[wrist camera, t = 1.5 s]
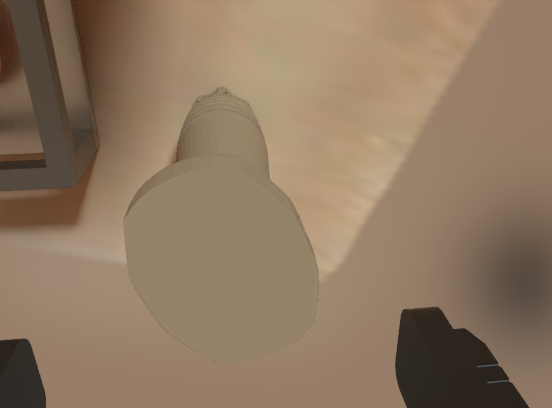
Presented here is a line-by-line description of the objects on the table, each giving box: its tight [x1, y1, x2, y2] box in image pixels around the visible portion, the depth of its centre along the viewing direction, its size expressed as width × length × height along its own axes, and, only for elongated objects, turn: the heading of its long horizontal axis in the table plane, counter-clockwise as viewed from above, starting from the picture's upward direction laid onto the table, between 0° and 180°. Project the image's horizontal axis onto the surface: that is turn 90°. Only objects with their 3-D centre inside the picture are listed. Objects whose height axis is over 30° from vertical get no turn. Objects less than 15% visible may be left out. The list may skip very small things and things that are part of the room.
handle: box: [124, 88, 319, 363], centre depth 21 cm, size 5×6×15 cm
